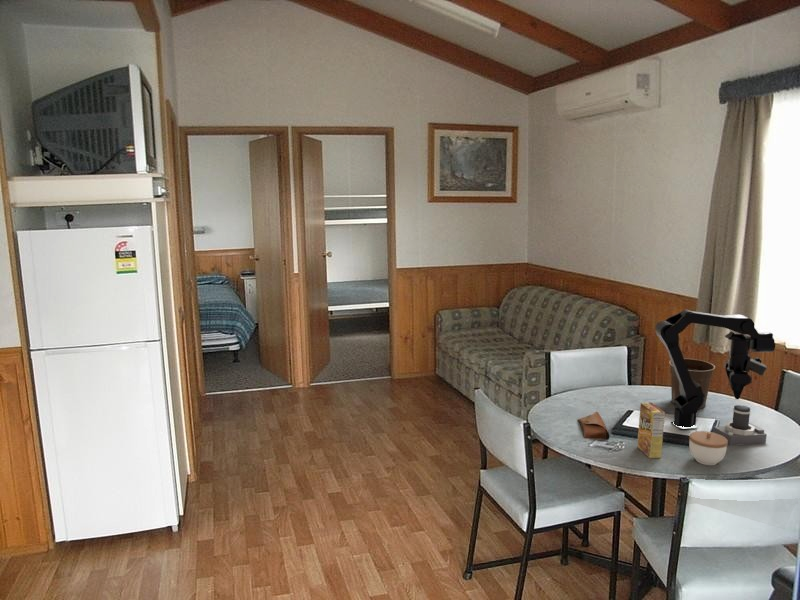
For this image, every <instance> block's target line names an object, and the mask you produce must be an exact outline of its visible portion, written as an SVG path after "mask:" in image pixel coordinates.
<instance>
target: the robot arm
mask: <svg viewBox="0 0 800 600" xmlns="http://www.w3.org/2000/svg"><path fill="white" fill-rule="evenodd" d="M691 324H697V325H704V326H705V325H706V326H712V327H719V328H723V329H728V330H729V331H730V332H729V333H727V334H726V335H724V337H725V338H726V339H728V340H730V349H729V350H730V351H729V352H728V356H729V359H727V360H725V361H724V366H723V367H724V370H725V373H726V377H727V379H728V382H729V383H728V384H729V386H730V389H731V391H732V392H733V396H734V398H735V400H740V397H741V395H742V392H743V391H744V388H745V387H746V386H748V385H751V384H752V380H753V379H752V376H751V374H750V373H749V372H753V373H756V374H758V375H759V376H764V374H765V372H766V370H767V369H768V367H767V365H766V364H765V363H763V362H762V359H761V358H759V357H757V356H755V357H754V358H751V357H750V350H751V351H752V352H753V353H773V352H774V351H775V349H776V343H775V339H774V334H773V333H772V332H768V331H767V332H758V330H757V329H756V326H755V322H754V320H753V319H751V318H750V317H748V316H746V315H743V314H737V313H736V314H726V315H722V314H721V315H720V314H715V313H708V312H701V311H693V310H689V309H683V310H681V311H680V312H677V313H676V314H674V315H672V316H670V317H668V318H666V319H665V320H660V321H658V322H657V323H656V324H655V327H654V332H655V333H656V336H657V337H658V338H659V340H660V341H661V343H662V344H663V345H664V347H665V349H666V351H667V354H668V356H669V359H670V361H671V362H672V364H673V367H674V369H675V372H676V375H677V377H678V380H679V383H680V385H679V390H680V395H679V396H677V397H676V398H675V399H674V400H673V401H674V406H675V408H674V414H673V421H670V424H671V423H673V422H674V424H675V425H677V426H682V427H683V426H684V427H691V426H693V425H695V426H696V424H697V415H698V414H697V413H698V412H699V407H701V406H702V404H703V403H704V398H703V397H705V395H704V394H703V392H702V388H701V386H700V385H699V384H698V383H696V382H695V381H694V382H693V381H692V378H691V376H690V373H689V371H688V368H687V365H686V363H685V360H684V358H685V357H684V355H683V353H682V350H681V348H680V336H679V335H680V334H681V333H682V332H683V331H685V330H686V329H687V327H688V326H690V325H691ZM746 335H748V336H746ZM675 425H674V426H675Z"/></svg>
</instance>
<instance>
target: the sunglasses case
mask: <svg viewBox="0 0 800 600" xmlns="http://www.w3.org/2000/svg"><path fill="white" fill-rule="evenodd" d="M577 422H578V423H579V425H580V427H581V429H582V433H583V438H584V439H593V440H609V439H610V433H609V430H608V428H607V425H606V423H605V422H604V420H603V418H602V416H601V415H600V414H599V412H598V411H596V412H594V413H592V414H589V415H586V416H583V417H581V418H578V419H577Z"/></svg>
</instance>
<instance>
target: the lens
mask: <svg viewBox="0 0 800 600" xmlns="http://www.w3.org/2000/svg"><path fill="white" fill-rule="evenodd" d="M750 414H751V408H750V407H749V406H747V405H746V406H745V405H741V404H739V405H737V404H736V405H734V406H733V415H732V421H731V422H732V427H733V428H735V429H740V430H748V426H749V423H750V416H751V415H750Z"/></svg>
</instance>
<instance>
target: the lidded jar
mask: <svg viewBox="0 0 800 600" xmlns="http://www.w3.org/2000/svg"><path fill="white" fill-rule="evenodd" d="M688 441H689V442H688V443H689V447H688V448H689V452H690V453H691V456H692V458H694V459H695V461H696V462H697V463H699V464H702V465H706V466H715V465H717V464H718V463H719V462H721V461H723V459H724V458H725V455H726V453H727V448H728V447H727V446H728V445H729V444H728V440H727V439H726V438H725V437H724V436H722V435H719V434H716V433H713V431H706V430H703V431H702V430H698V431H697V430H696V431H693V432H691V433H690V434H689V440H688Z"/></svg>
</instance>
